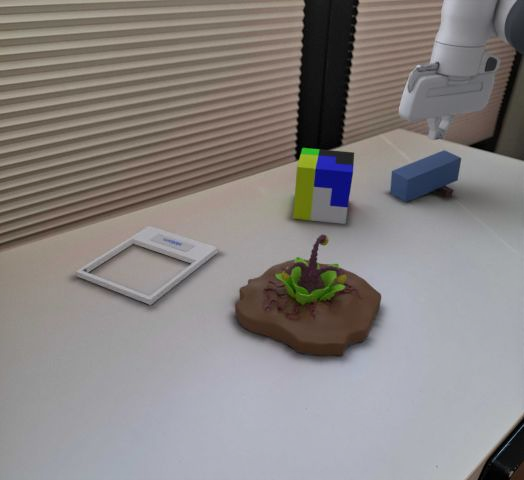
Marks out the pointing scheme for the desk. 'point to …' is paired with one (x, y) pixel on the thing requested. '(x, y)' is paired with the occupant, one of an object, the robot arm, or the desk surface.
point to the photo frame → (159, 243)
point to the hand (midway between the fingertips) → (436, 138)
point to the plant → (309, 305)
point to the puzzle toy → (323, 185)
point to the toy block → (425, 175)
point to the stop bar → (444, 191)
